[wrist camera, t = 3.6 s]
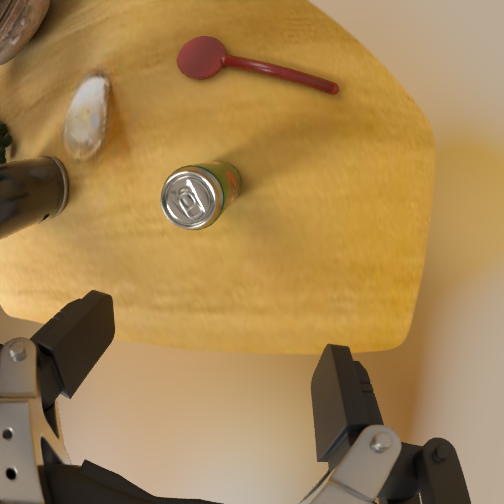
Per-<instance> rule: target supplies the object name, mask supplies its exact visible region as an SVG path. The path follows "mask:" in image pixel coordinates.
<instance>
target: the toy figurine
mask: <svg viewBox="0 0 504 504" xmlns="http://www.w3.org/2000/svg"><path fill="white" fill-rule="evenodd" d="M5 132H6V124H4V123H1V124H0V164H4V163H6V158H5V153H6V150H5V147H8V146H9V145H10V144H11V142H12V137H11V135H8V134H7V135H5V136H4V137H3V134H4V133H5Z"/></svg>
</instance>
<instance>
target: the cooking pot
mask: <svg viewBox="0 0 504 504" xmlns="http://www.w3.org/2000/svg"><path fill="white" fill-rule="evenodd" d="M50 2H51V0H0V66H1V65H3V64H5V63H6V62H8V61H9V60H10V59H12V58H13V57H14V56H15V55H17V54H18V53H19V52H20V51H21V50H22V49H23V48H24V46H25V45H26V44H27V43H28V42H29V41H30V39H31V38H32V37H33V35H34V34H35V33H36V31H37V29H38V28H39V26H40V25H41V23H42V21H43V19H44V17H45V15H46V13H47V11H48V8H49V6H50Z"/></svg>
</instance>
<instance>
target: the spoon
mask: <svg viewBox="0 0 504 504" xmlns="http://www.w3.org/2000/svg"><path fill="white" fill-rule="evenodd" d="M177 63H178V67H179V69H180V70H181V72H182V73H183V74H185V75H186V76H187V77H189V78H192V79H198V80H201V79H207V78H210V77H212V76H214V75H215V74H217V73H218V72H219V71H220V70H221V69H222V68H223V66H227V67H233V68H238V69H243V70H248V71H252V72H257V73H261V74H265V75H269V76H273V77H277V78H281V79H285V80H288V81H292V82H295V83H299V84H302V85H305V86H308V87H312V88H315V89H318V90H321V91H324V92H326V93H329V94H333V95H334V94H337V93H338V92H339V86H338V85H337V84H336V83H333V82H331V81H328V80H325V79H322V78H319V77H316V76H313V75H309V74H306V73H303V72H300V71H296V70H293V69H289V68H285V67H282V66H278V65H274V64H270V63H265V62H261V61H257V60H252V59H247V58H242V57H237V56H231V55H226V50H225V48H224V46H223V44H222V43H221V42H220V41H219V40H217V39H215V38H213V37H208V36H201V37H197V38H194V39H192V40H190V41H188V42H187V43H186V44H185V45H184V46H183V47H182V48H181V50H180V51H179V54H178V58H177Z"/></svg>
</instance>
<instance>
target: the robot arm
mask: <svg viewBox="0 0 504 504" xmlns="http://www.w3.org/2000/svg"><path fill="white" fill-rule="evenodd" d="M67 198H68V178H67V174H66V171H65V169H64V167H63V165H62V163H61V162H60V161H59V160H58V159H57V158H55V157H53V156H42V157H39V158H33V159H26V160H20V161H14V162H9V163H4V164H0V240H1V239H3V238H5V237H7V236H10V235H12V234H14V233H16V232H18V231H20V230H23V229H25V228H27V227H29V226H32V225H34V224H36V223H39V222H40V223H42V222H43V220H44V221H45V220H47V219H49V218H52V217H55V216H57V215H58V214H60V213H61V211H62V210H63V209H64V207H65V205H66V202H67ZM41 221H42V222H41ZM40 223H39V224H40ZM114 334H115V323H114V312H113V300H112V297H111V295H108V294H105V293H102V292H99V291H96V290H92V291H90V292H89V293H88V294H87V295H86V296H85V297H83V298H82V299H80V298H79V299H77V300H75V301H73V302H70V303H68V304H67V305H66V306H65V307H64V308H62V309H61V310H60V313H59V312H58V313H57V314H56V315H55V316H54V318H51V319H50V320H49V321H48V322H47V323H46V324H45V325H44V326H43V327H42V328H41V329H40V330H39V331H37V333H35V334H34V335H33V336H32V337H31V338H30V339H27V338H21V337H20V338H14V339H11V340H10V341H8V342H7V343H5V344H4V345H3V344H0V504H222V503H216V502H211V501H205V500H201V499H178V498H163V497H156V496H153V495H151V494H149V493H148V492H146V491H144V490H142V489H141V488H139V487H137V486H136V485H134V484H133V483H131V482H129V481H128V480H126V479H125V478H123V477H122V476H120V475H119V474H116V473H114V472H112V471H109V470H107V469H105V468H102V467H100V466H98V465H96V464H94V463H92V462H90V461H87V460H84V462H83V464H82V466H78V465H72V463H71V460H70V458H69V455H68V453H67V451H66V448H65V445H64V441H63V436H62V430H61V423H60V417H59V409H58V402H57V400H56V398H57V397H58V396H59V394H62V395H64V396H65V397H67V398H69V399H71V398H72V396H73V395H74V393H75V392H76V390H77V389H78V387H79V386H80V384H81V383H82V382H83V380H84V379H85V378H86V376H87V375H88V373H89V372H90V370H91V369H92V368H93V367H94V365H95V364H96V362H97V361H98V360H99V358H100V357H101V356H102V354H103V353H104V352H105V350H106V349H107V347H108V346H109V345H110V344H111V342H112V340H113V338H114ZM311 395H312V405H313V416H314V427H315V438H316V452H317V462H328V464H329V469H328V470H327V471H326V473H325V474H324V475H323V476H322V477H321V479H320V480H319V481H318V482H317V483H316V484H315V486H314V487H313V488H312V489H311V490H310V491H309V493H307V495H306V496H305V497H304V498H303V499H302V500H301V501H300V502H299V503H298V504H377V503H375V502H374V501H375V499H376V497H378V498H379V504H421V503H420V497H419V493H420V495H421V500H422V504H471V501H470V497H469V493H468V490H467V486H466V482H465V479H464V475H463V472H462V469H461V466H460V462H459V459H458V456H457V453H456V451H455V448H454V447H453V446H452V444H451V443H450V442H449V441H447V440H445V439H442V438H433V439H430V440H429V441H428V442H427V443H426V444H425V445H424V446H417V445H412V444H407V443H403V442H401V440H400V438H399V436H398V435H397V433H395V431H393V430H392V429H390V428H389V427H387V426H384V424H383V420H382V417H381V414H380V411H379V407H378V404H377V401H376V397H375V394H374V393H373V388H372V385H371V384H370V379H369V376H368V373H367V371H366V369H365V368H364V367H363V366H362V365H361V363H360V362H359V361H353V359H352V356H351V352H350V349H349V347H348V346H341V345H333V344H327V345H326V347H325V349H324V351H323V354H322V356H321V358H320V360H319V363H318V365H317V367H316V369H315V372H314V374H313V377H312V382H311Z"/></svg>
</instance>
